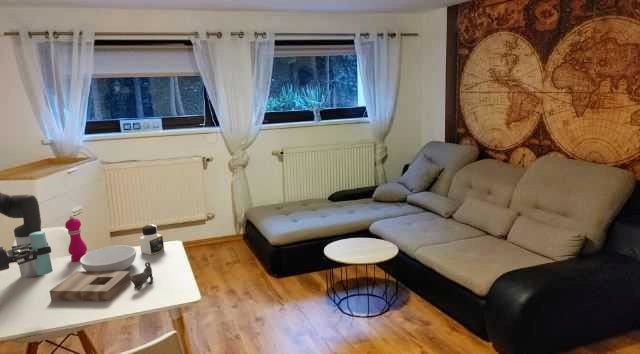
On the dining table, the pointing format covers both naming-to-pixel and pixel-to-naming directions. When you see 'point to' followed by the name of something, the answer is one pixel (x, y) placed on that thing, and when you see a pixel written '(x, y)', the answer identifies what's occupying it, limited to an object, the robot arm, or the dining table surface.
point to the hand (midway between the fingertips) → (49, 247)
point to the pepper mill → (75, 239)
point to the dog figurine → (142, 277)
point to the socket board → (91, 286)
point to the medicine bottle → (151, 240)
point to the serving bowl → (109, 258)
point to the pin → (43, 260)
